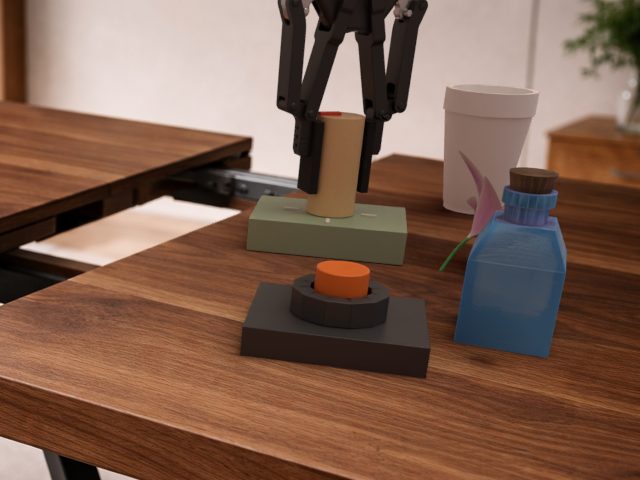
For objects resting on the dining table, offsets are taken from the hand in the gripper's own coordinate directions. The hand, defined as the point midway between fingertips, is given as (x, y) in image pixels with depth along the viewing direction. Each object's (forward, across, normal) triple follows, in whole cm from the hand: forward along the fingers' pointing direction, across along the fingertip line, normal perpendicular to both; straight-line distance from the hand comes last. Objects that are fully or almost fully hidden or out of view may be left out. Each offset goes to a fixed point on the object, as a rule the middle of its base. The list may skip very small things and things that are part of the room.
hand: (332, 189), depth 89 cm
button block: (+5, -11, -24) cm, 27 cm away
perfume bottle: (+5, +2, -25) cm, 26 cm away
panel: (+5, 0, 0) cm, 5 cm away
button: (+1, -11, -24) cm, 26 cm away
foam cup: (+5, +23, +11) cm, 26 cm away
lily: (+5, +10, -11) cm, 16 cm away
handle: (+2, 0, 0) cm, 2 cm away
